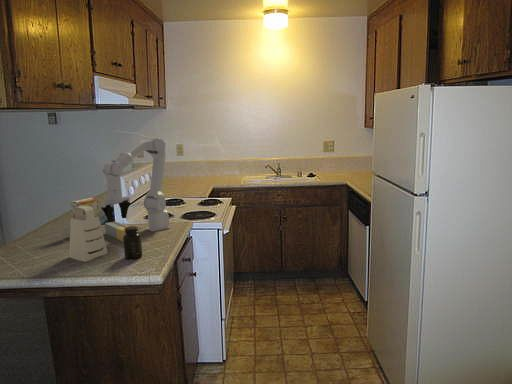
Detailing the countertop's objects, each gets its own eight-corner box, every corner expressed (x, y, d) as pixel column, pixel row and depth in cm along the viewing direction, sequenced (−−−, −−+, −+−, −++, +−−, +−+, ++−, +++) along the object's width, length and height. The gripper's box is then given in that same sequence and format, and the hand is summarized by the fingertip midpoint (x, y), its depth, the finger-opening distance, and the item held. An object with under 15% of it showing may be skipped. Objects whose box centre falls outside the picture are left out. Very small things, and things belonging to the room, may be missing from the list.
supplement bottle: (121, 257, 169) (118, 227, 167) (137, 253, 174) (134, 224, 172) (130, 261, 164) (127, 230, 162) (146, 256, 169) (143, 227, 167)
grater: (92, 250, 180) (87, 203, 176) (108, 254, 174) (103, 205, 170) (69, 257, 171) (63, 208, 168) (84, 261, 165) (79, 211, 162)
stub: (127, 236, 196) (126, 225, 195) (133, 239, 192) (132, 227, 191) (116, 238, 193) (115, 227, 192) (122, 241, 189) (121, 230, 188)
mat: (124, 230, 209) (124, 229, 209) (150, 241, 190) (150, 240, 190) (98, 235, 200) (98, 235, 200) (122, 247, 181) (122, 247, 181)
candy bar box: (81, 237, 199) (77, 202, 196) (74, 236, 201) (70, 201, 198) (100, 231, 208) (97, 198, 205) (93, 230, 211) (90, 197, 208)
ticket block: (116, 231, 205) (115, 221, 205) (127, 236, 197) (126, 225, 196) (105, 233, 202) (104, 223, 201) (116, 238, 193) (115, 227, 192)
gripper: (121, 186, 196) (123, 215, 198) (94, 191, 184) (97, 222, 186) (132, 187, 192) (134, 216, 195) (105, 193, 180) (109, 224, 183)
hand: (117, 220), depth 190 cm, fingers open, 7 cm apart
